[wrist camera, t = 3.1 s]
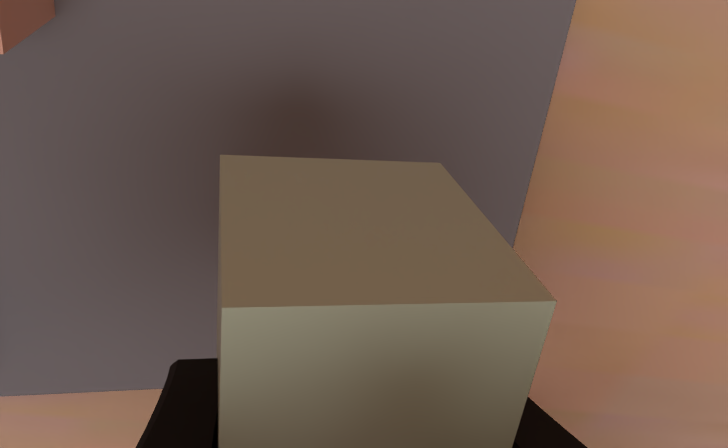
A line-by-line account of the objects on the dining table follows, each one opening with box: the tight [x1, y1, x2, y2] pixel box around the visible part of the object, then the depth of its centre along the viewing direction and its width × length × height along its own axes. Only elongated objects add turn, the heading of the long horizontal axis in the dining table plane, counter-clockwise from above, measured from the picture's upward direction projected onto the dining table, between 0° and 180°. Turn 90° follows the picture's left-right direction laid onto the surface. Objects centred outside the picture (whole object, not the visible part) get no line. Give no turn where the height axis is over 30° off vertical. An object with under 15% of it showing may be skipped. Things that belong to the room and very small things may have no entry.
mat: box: [0, 0, 576, 396], centre depth 16 cm, size 17×24×1 cm
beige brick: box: [217, 155, 557, 448], centre depth 10 cm, size 7×4×4 cm, turn 173°
